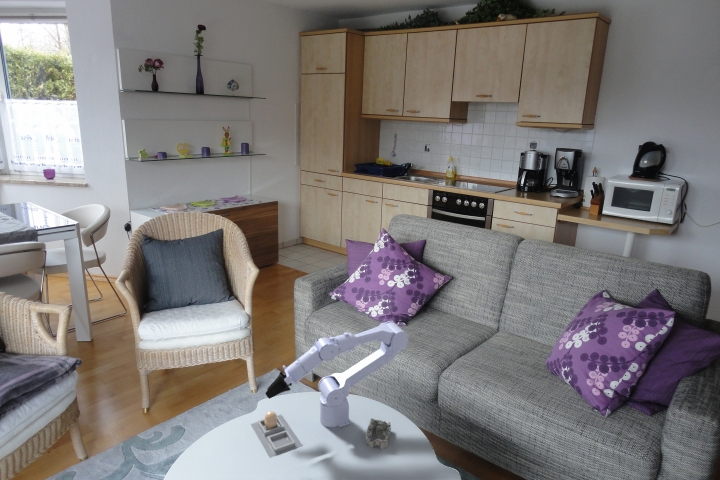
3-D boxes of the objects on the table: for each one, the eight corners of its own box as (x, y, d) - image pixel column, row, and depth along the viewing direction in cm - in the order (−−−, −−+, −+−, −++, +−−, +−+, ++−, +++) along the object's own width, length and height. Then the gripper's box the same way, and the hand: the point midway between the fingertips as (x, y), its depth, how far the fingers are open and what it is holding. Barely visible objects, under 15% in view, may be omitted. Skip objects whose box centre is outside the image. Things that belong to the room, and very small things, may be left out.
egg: (274, 421, 161) (274, 407, 160) (278, 428, 158) (278, 413, 157) (263, 425, 159) (262, 410, 158) (267, 432, 156) (266, 417, 155)
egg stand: (281, 416, 165) (281, 411, 165) (302, 448, 151) (302, 442, 150) (250, 426, 160) (250, 421, 159) (269, 460, 145) (269, 454, 145)
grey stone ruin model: (386, 451, 151) (387, 440, 150) (363, 447, 153) (364, 436, 151) (392, 429, 161) (392, 419, 160) (370, 426, 163) (371, 415, 161)
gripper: (295, 354, 160) (262, 380, 158) (294, 358, 146) (258, 387, 144) (308, 371, 160) (275, 397, 157) (308, 377, 146) (272, 406, 143)
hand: (268, 393), depth 150 cm, fingers open, 7 cm apart
